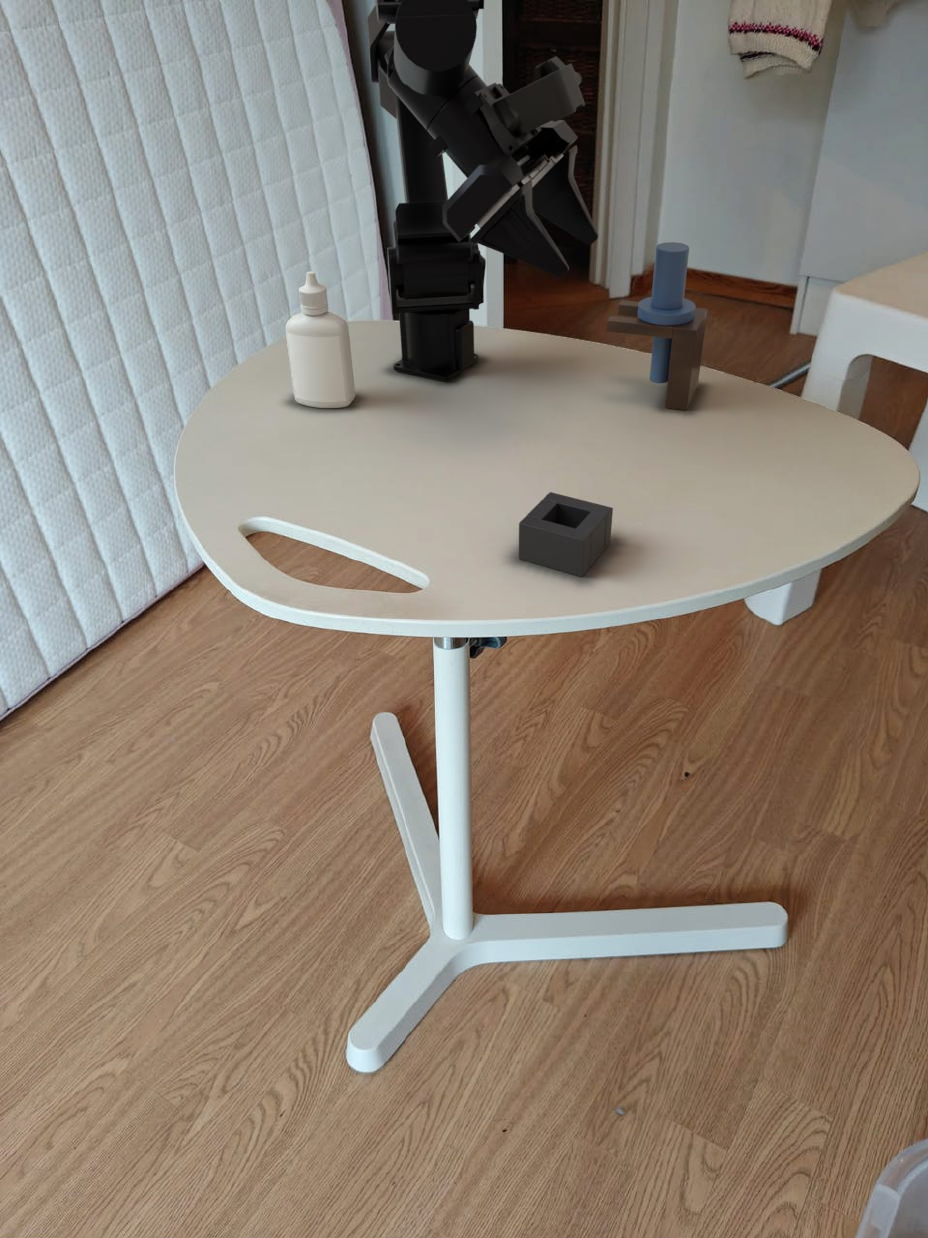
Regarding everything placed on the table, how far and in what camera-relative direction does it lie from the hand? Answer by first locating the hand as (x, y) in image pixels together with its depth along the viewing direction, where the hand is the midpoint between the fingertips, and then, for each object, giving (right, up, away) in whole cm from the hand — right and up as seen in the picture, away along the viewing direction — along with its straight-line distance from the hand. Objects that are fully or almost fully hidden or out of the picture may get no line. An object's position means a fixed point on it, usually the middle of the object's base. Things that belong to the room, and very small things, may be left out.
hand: (580, 256), depth 82 cm
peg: (+8, -8, +9) cm, 15 cm away
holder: (-2, -25, -11) cm, 28 cm away
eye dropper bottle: (-23, -10, +11) cm, 27 cm away
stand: (+8, -9, +10) cm, 16 cm away
